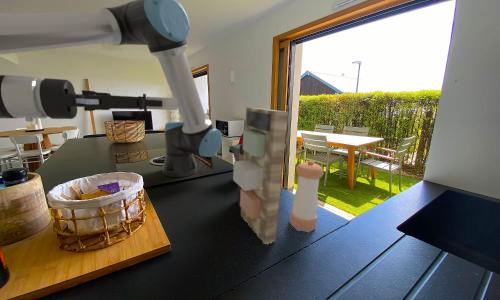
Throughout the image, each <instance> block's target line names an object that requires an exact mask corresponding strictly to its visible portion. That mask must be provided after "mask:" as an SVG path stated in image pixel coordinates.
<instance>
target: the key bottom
mask: <svg viewBox="0 0 500 300" xmlns="http://www.w3.org/2000/svg"><path fill="white" fill-rule="evenodd" d="M239 207H240V209H241V208H242V209H243V210H244V211H245V212H246V213H247V215H248V216H249V217H250V218H251V219H255V218H259V217H260V211H261V198H260V197H259V196H258V195H257V194H255V193H254V192H253V191H252V190H247V191H244V190H243V189H241V193H240V206H239Z"/></svg>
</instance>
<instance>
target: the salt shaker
mask: <svg viewBox="0 0 500 300" xmlns="http://www.w3.org/2000/svg"><path fill="white" fill-rule="evenodd" d="M295 171H296V173H297V175H298V176H297V177H298V179H297V186H296V190H295V193H294V197H293V203H292V209H291V211H290V215H289V216H290V218H289V219H290V220H289V224H290V223H291V225H292V226H294V227H295V228H297V229H299V230H304V231H311V230H313V229H315V230H316V228H317V221H318V216H317V213H318V211H317V210H318V206H319V202H318V201H319V197H318V192H319V183H320V179H321V178H322V177H323V175H324V169H323V168H322V166H321V165H320V164H318V163H315V162H314V161H313V160H307V161H306V162H300V163H299V164H298V165H297V166H296V170H295ZM291 225H290V226H291ZM292 226H291V227H292ZM315 227H316V228H315Z"/></svg>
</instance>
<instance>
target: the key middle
mask: <svg viewBox="0 0 500 300" xmlns="http://www.w3.org/2000/svg"><path fill="white" fill-rule="evenodd" d="M232 170H233V177H232V181H233V180H234V181H235V182H236V183H235V182H234V181H233V182H234V183H235V184H237V186H238V185H239V186H240V187H241V188H242V189H243V190H244V191H247V190H253V189H259V188H262V185H263V172H264V167H262V166H260V165H259V164H257V163H255V162H254V161H252V160H245V161H235V160H234V161H233V169H232Z"/></svg>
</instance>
